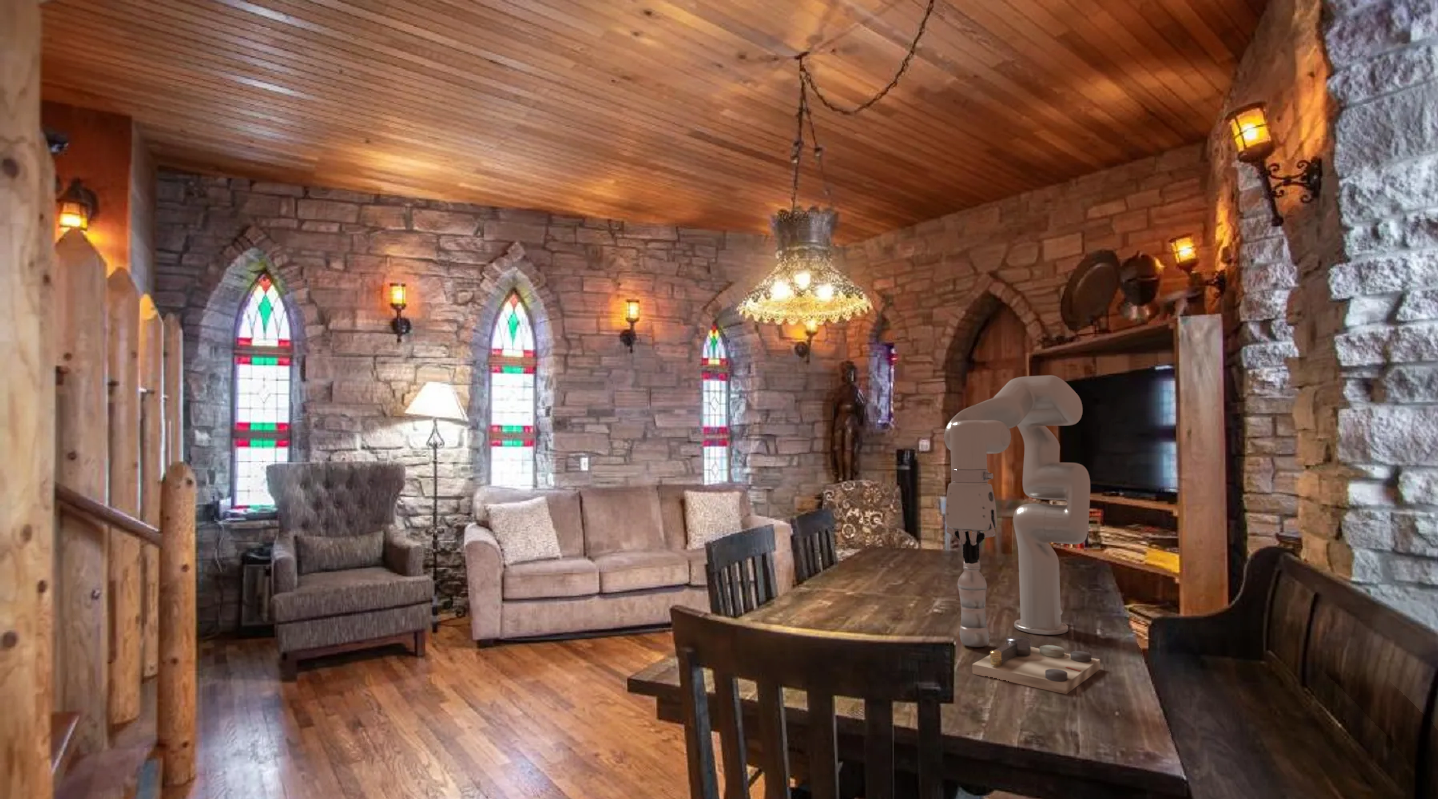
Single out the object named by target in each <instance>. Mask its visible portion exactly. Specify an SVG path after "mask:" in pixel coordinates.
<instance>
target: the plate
mask: <svg viewBox="0 0 1438 799" xmlns="http://www.w3.org/2000/svg"><path fill="white" fill-rule="evenodd" d="M1065 651H1066V650H1065V648H1064V647H1062V646H1059V645H1058V646H1057V645H1053V644H1050V645H1049V644H1046V645H1045V644H1044V645H1040V646H1039V648H1038V647H1033V646H1031V655H1028V656H1014V657H1012V658H1011V659H1009V660H1007V661H1005V662H1004V663H1002V665H1001V666H994V665H991V664H990V654H989V655H987V656H985V657H983V658H981V659H980V660H977V661H976V662H973V663H972V664H971V666H972V671H971V672H972V675H978V676H982V677H985V676H988V677H987V678H990V677H993V678H992V679H994V678H997V679H996V680H999V679H1000V681H1003V680H1006V681H1005V682H1008V681H1009V682H1008V683H1013V684H1018V685H1022V686H1026V687H1032V688H1036V689H1041V690H1045V691H1049V692H1054V693H1059V694H1063V695H1067V694H1068V693H1070V692H1072V691H1073V690H1074V689H1075V688H1076V687H1078V686H1079V685H1081V684H1082V683H1083V682H1085V681H1086V680H1088V679H1089V678H1090V677H1092V676H1093V675H1094V674H1096V673H1097V672H1099V670H1101V658H1100V659H1099V658H1093V657H1092V654H1091V653H1090V652H1087V651H1081V650H1072V651H1070V653H1066V652H1065Z"/></svg>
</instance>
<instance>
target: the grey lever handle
mask: <svg viewBox="0 0 1438 799" xmlns="http://www.w3.org/2000/svg"><path fill="white" fill-rule="evenodd" d="M1031 642H1032V641H1031V638H1029V637H1028V636H1024V635H1023V636H1022V635H1008V636H1006V637H1005V643H1004V644H1003V645H1001V646H999V647H997V648H995V649H993V650H990V651H989V655H990V664H991V665H994V666H1001V665H1002V663H1004V662H1005V661H1007V660H1009V659H1011V658H1012V657H1014V656H1028V655H1031V647H1032V644H1031Z"/></svg>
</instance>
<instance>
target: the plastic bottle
mask: <svg viewBox="0 0 1438 799" xmlns="http://www.w3.org/2000/svg"><path fill="white" fill-rule="evenodd" d="M962 562H963V566H962V569H963V571H962V573H961V574H960V576H959V578H958V580H957V589H958V590H957V591H958V593H959V594H958V595H959V600H960V610H961V611H960V615H961V616H960V627H959V638H960V639H959V640H960V642H961V644H962V645H963V646H967V647H970V648H971V647H972V648H982V647H986V646H987V645H988V644H989V641H990V632H989V628H988V624H987V616H986V597H987V587H988V586H987V581H986V579H985V577H984V576H983V574H982V573H981V572H980V570H981V561H980V560H978V562H977V563H974V564H970V563H965V560H964V559H963V561H962Z"/></svg>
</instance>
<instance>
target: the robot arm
mask: <svg viewBox="0 0 1438 799" xmlns="http://www.w3.org/2000/svg"><path fill="white" fill-rule="evenodd" d="M1083 409H1084V408H1083V404H1082V400H1081V398H1080V396H1079V395H1078V392H1077V393H1076V391H1075V390H1074V389H1073V388H1072V387H1071V386H1070V384H1068V383H1067V381H1065V380H1063V379H1062V378H1061V377H1058V376H1056V375H1053V374H1050V375H1049V374H1048V375H1027V376H1019V377H1015V378H1012V379H1010V380H1009V381H1008V382H1007V383H1006V384H1004V386H1003V387H1002V388H1001V389H1000V390H999V391H998V392H997V393H996V394H995V395H994V396H993V397H991V398H990V399H989V398H988V399H986V400H984V401H981V402H979V403H977V404H973V405H970V406H968V407H966V408H964V409H962V410H960V411H959V412H958V413H956V415H954V416H953V417H952V418H951V420H950V421H949V422H948V423H947V425H946V427H945V429H944V432H943V440H944V444H945V447H946V448H947V449H948V450H949V451H950V480H951V482H950V483H948V486H947V490H946V497H945V509H944V510H945V512H944V514H945V515H944V516H945V517H944V519H945V526H946V533H947V534H949V535H952V536H955V537H956V538H957V539H958V540H959V541H960V542H959V543H960V544H961V545H962V557H963V561H964V560H965V563H970V564H974V563H977V562H978V561H979V559H980V544H982V542H983V541H984V540H985V539H986V538H993V537H996V530H995V529H997V527H998V515H997V504H996V499H995V493H994V489H993V485H992V484H991V483H988V482H989V480H994V473H993V472H992V473H991V472H990V471H989V469H988V456H987V455H990V454H992V455H994V454H1000V453H1003V452H1005V450H1007V449H1008V448H1009V446H1010V444H1011V441H1012V434H1011V430H1010V429H1012V428H1015V427H1017V428H1018V431H1019V433H1020V434H1021V437H1022V440H1023V445H1024V446H1023V447H1024V453H1023V454H1024V456H1023V466H1022V467H1023V468H1022V489H1023V493H1024V494H1025V495H1026V496H1027V497H1029V498H1032V499H1039V500H1052V501H1053V500H1055V501H1066V504H1052V503H1036V502H1035V503H1033V502H1032V503H1025V504H1021V505H1019V506H1018V507H1017V508H1016V509H1015V510H1014V511H1013V512H1014V513H1013V517H1012V518H1013V519H1012V521H1013V522H1012V523H1013V529H1014V533H1015V538H1016V542H1017V543H1016V545H1017V554H1018V579H1019V582H1018V583H1019V610H1020V613H1019V614H1020V615H1019V616H1020V619H1016V620H1014V624H1013V625H1014V628H1015V629H1017V630H1019V631H1022V632H1025V633H1029V634H1035V635H1047V636H1051V635H1052V636H1053V635H1062V634H1066V633H1067V632H1068V631H1069V626H1068V624H1066V623H1065V622H1062V614H1063V613H1064V611H1063V609H1062V608H1061V587H1060V586H1061V584H1060V582H1061V581H1060V561H1059V556H1058V555H1057V553H1056V551H1055V550H1054V548H1053V547H1052V545H1051V544H1050V543H1052V544H1053V543H1054V544H1055V543H1056V544H1064V545H1066V544H1067V545H1079V544H1083V543H1084V542H1086V540H1087V537H1088V533H1089V525H1090V521H1089V520H1090V506H1091V502H1090V499H1091V479H1090V478H1091V477H1090V474H1089V471H1088V469H1087V468H1086V467H1085V466H1084V465H1083V464H1080V463H1078V462H1060V455H1061V454H1060V450H1061V445H1060V443H1059V442H1060V441H1059V440H1058V439H1057V437H1056V436H1055V434H1054V433H1053V432H1052V431H1051V430H1050V429H1049V428H1048V427H1052V426H1054V427H1056V426H1057V427H1058V426H1061V427H1062V426H1073V425H1076V424H1077V423H1079V421H1080V420H1081V419H1082V415H1083ZM970 532H971V533H970Z"/></svg>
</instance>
